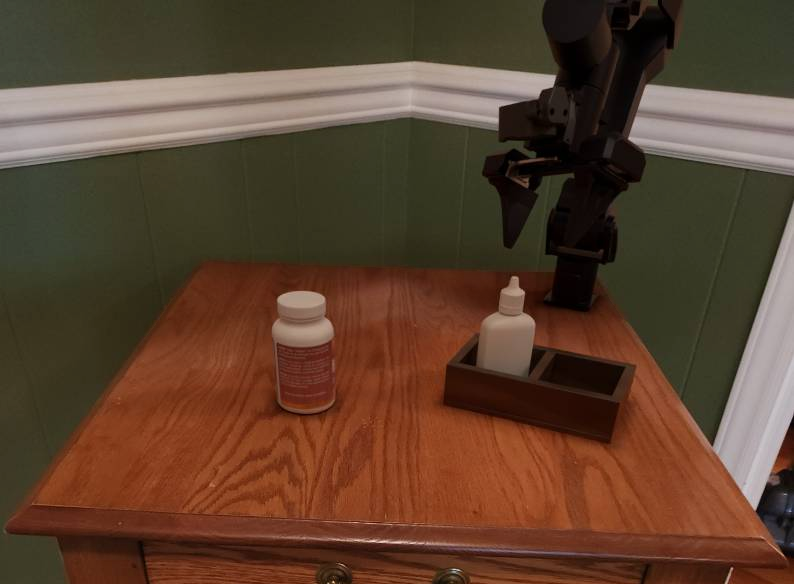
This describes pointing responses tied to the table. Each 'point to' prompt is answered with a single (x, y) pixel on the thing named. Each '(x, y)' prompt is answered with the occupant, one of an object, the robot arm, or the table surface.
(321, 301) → the pill bottle
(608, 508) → the table surface
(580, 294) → the robot arm
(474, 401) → the box
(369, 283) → the table surface
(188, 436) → the table surface
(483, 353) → the eye dropper bottle
